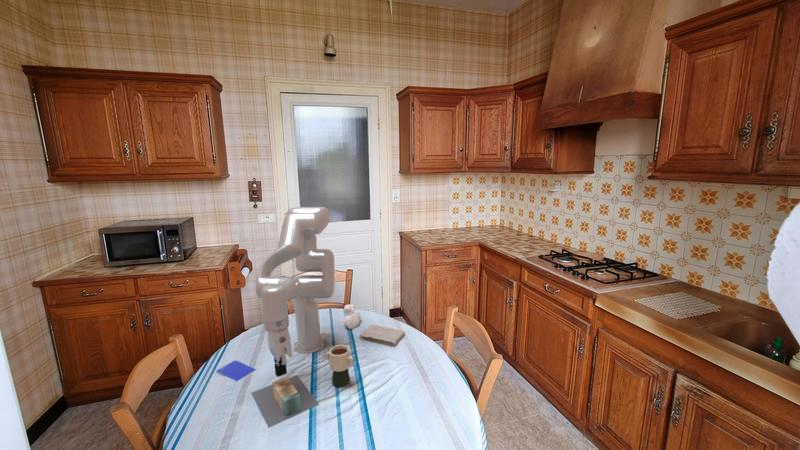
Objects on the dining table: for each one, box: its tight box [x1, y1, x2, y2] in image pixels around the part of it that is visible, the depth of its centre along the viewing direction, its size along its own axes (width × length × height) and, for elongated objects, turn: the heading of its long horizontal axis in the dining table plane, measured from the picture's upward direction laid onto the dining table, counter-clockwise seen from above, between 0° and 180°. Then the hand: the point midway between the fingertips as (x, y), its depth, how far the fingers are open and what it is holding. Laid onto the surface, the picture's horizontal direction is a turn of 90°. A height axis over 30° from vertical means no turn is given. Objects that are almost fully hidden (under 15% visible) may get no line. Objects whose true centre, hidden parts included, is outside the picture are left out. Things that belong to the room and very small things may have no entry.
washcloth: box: [359, 324, 406, 348], centre depth 154 cm, size 12×18×3 cm, turn 66°
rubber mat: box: [250, 374, 320, 429], centre depth 114 cm, size 16×20×1 cm
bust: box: [343, 303, 362, 330], centre depth 165 cm, size 12×8×11 cm
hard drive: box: [215, 359, 257, 382], centre depth 130 cm, size 2×8×12 cm
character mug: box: [326, 344, 355, 388], centre depth 121 cm, size 11×7×13 cm, turn 67°
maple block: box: [271, 376, 301, 417], centre depth 111 cm, size 5×5×12 cm
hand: (281, 374), depth 113 cm, fingers closed
